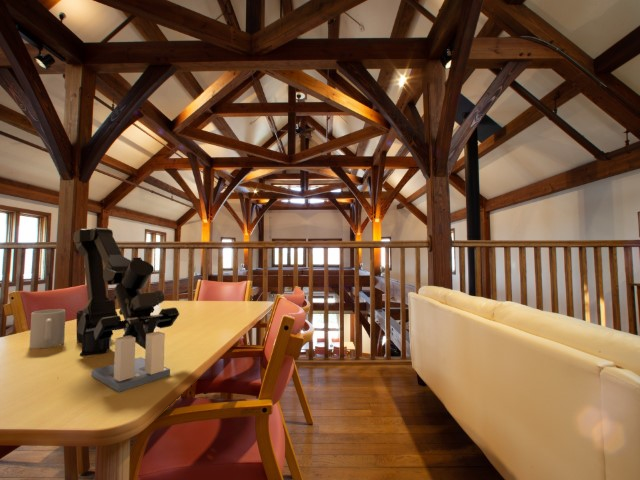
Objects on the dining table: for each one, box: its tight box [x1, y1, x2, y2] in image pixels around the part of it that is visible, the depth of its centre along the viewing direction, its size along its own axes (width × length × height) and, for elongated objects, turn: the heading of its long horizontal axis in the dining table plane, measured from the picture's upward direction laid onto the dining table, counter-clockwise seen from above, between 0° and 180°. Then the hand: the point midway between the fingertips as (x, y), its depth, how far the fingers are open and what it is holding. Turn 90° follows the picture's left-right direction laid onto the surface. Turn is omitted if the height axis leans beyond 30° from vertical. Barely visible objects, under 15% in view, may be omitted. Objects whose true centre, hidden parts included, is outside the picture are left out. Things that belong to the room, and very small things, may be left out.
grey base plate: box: [91, 356, 171, 393], centre depth 75 cm, size 15×12×2 cm
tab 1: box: [113, 336, 136, 381], centre depth 70 cm, size 3×3×9 cm
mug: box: [29, 308, 66, 350], centre depth 98 cm, size 12×8×11 cm
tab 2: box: [144, 330, 166, 374], centre depth 74 cm, size 3×3×9 cm
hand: (150, 350), depth 75 cm, fingers closed
